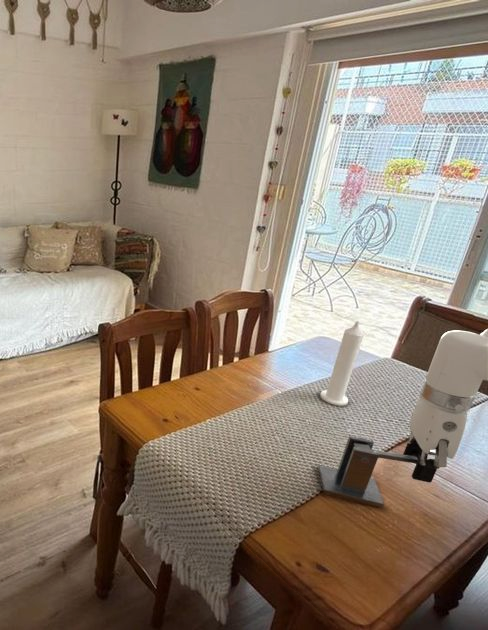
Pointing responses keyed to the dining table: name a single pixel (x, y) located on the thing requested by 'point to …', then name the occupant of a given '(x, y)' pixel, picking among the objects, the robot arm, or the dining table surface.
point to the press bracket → (353, 475)
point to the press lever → (392, 454)
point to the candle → (343, 366)
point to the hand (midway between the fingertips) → (416, 469)
